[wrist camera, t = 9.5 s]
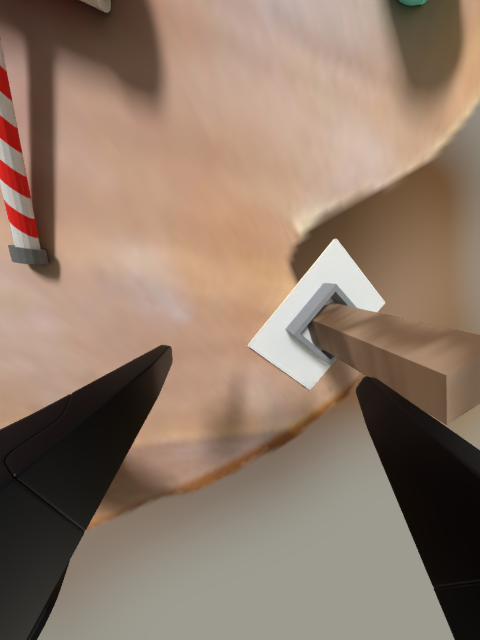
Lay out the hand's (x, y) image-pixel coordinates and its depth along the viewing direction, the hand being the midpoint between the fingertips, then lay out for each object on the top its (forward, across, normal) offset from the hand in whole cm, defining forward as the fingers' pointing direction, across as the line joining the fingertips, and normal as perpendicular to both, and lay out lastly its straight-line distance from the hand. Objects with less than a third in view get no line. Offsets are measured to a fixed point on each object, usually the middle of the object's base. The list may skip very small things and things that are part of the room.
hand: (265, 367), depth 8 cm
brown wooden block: (+14, -9, +4) cm, 17 cm away
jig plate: (+14, -9, +4) cm, 17 cm away
